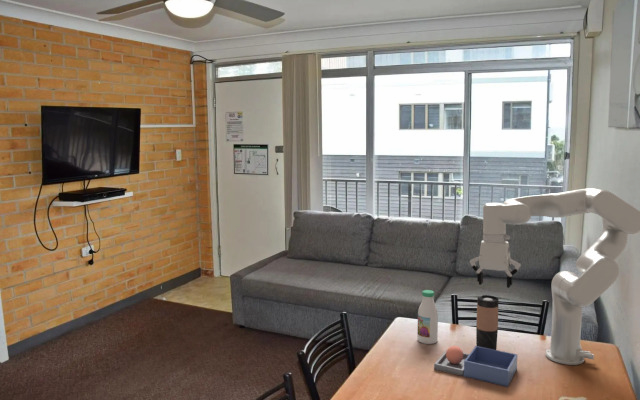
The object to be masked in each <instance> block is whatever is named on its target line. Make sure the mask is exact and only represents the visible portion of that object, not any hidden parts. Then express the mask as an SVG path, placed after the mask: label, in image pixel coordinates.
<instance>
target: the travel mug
mask: <svg viewBox="0 0 640 400" xmlns="http://www.w3.org/2000/svg"><path fill="white" fill-rule="evenodd" d="M476 302H477V303H476V328H475V331H476V332H475V333H476V335H475V336H476V337H475V338H476V339H475V341H476V345H475V346H479V347H484V348H489V349H494V350H497V347H498V346H497V345H498V333H499V332H498V329H499V303H500V302H499V298H498V297H497V296H494V295H489V294H488V295H487V294H484V295H481V296H480V297H479V296H477V301H476Z"/></svg>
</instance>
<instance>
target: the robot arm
mask: <svg viewBox="0 0 640 400" xmlns="http://www.w3.org/2000/svg"><path fill="white" fill-rule="evenodd" d="M590 213H592V214H595V215H598V216H600V217H601V220H602V226H603V227H602V232H601V234H600V236H599V237H598V238H597V239H596V240H595V242H593V244H591V245H590V246H589V247H588V248H587V249H586V250H585V251H584V252H583V253H582V254H580V256H579V257H578V258H577V260H576V262H575V266H576V269H577V271H578V272H579V273H580V274H581V275H579V274H576V273H575V272H572V271H567V270H561V271H559V272H558V273H556V274H555V275H554V276H553V278H552V280H551V286H550V287H551V288H550V289H551V296H552V312H551V314H552V315H551V316H552V317H551V334H550V335H551V337H550V348H547V349H546V350H545V357H546V358H548V360H551V362H552V361H553V362H555V363H557V364H560V365H561V364H562V365H567V366H568V365H569V366H577V365H581V364H583V363H584V361H585V359H588V360H594V356H595V354H594V353H591V351H588V350H584V349H582V345H581V338H582V337H581V335H582V334H581V332H582V320H583V308H585V307H588V306H590V305H591V304H593V303H594V302H595V301H596V300H597V299H599V297H600V296H602V295H603V294H604V293H605V292H606V291H607V290H608V289H609V288H610V287H611V286H612V285H613V284H614V283H615V282H616V281H617V279H618V277H619V274H620V267H619V264H618V263H617V261H616V260H617V258H618V257H619V256H620V255H621V254H622V253H623V251H624V250H625V249H626V246H627V243H628V237H629V236H628V235H634V234H637V233H639V232H640V210H639V209H637V208H636V207H634V206H633V205H631V204H630V203H628V202H627V201H625V200H623V199H622V198H621V197H619V196H617V195H616V194H614V193H613V192H611V191H609V190H605V189H601V188H597V187H586V188H580V189H574V190H569V191H563V192H557V193H555V192H554V193H547V194H539V195H527V196H521V197H514V198H509V199H507V200H504V201H503V202H502V203H501V202H486V203H485V204H484V205H483V208H482V220H483V221H482V224H483V225H482V228H483V229H482V230H483V232H482V233H483V234H482V235H483V236H482V237H483V238H482V239H483V240H481V242H480V248H479V256H477V257H474V258H472V259H470V260H469V264H470V266H471V267H472V270H473V271H475V273H476V274H477V282H478V285H482V284H483V283H484V272H483V270H488V271H489V270H490V271H498V272H504V273H506V274H507V276H506V288H508V289H510V288H511V286H512V285H513V276H514V275H515V274H517V272H518V270H519V269H520V268H521V266H522V265H521V263H520V262H517V260H514V259H512V258H511V251H510V244H509V240H511V235H508V234H507V231H506V230H507V224H509V225H523V224H527V223H528V222H529V221H530V220H531V218H532V217H549V218H564V217H565V218H566V217H573V216H577V215H584V214H585V215H586V214H590ZM507 240H508V241H507ZM476 262H478V264H479V265H477V264H476ZM511 265H512V266H514V268H513V270H512V269H511ZM478 266H479V267H478Z"/></svg>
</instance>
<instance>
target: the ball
mask: <svg viewBox="0 0 640 400" xmlns="http://www.w3.org/2000/svg"><path fill="white" fill-rule="evenodd" d="M446 350H447V351H446ZM446 350H445V351H446V357H447V360H448V361H449V362H451V363H453V364H458V363H460V362H461V361H462V360H463V357H464V355H463V353H464V352H463V350H462V349H461V347H459V346H456V345H452V346H449V347H448V348H447V349H446Z"/></svg>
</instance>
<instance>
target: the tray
mask: <svg viewBox="0 0 640 400" xmlns="http://www.w3.org/2000/svg"><path fill="white" fill-rule="evenodd" d="M446 351H447V349H446V350H445V351H444V352H442V355H441V356H440V357H439V358H438V359H437V360H436V361H435V362H434V365H433V366H434V367H433V370H436V371H441V372H444V373H448V374H453V375H457V376H460V377H464V361H465V359H466V358H467V357H468V355H469V354H470V353H468V352H467V353H465V352H463V355H464V357H463V360H462V361H461V362H460V363H458V364H453V363H451V362H449V361H448V360H447V357H446Z"/></svg>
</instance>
